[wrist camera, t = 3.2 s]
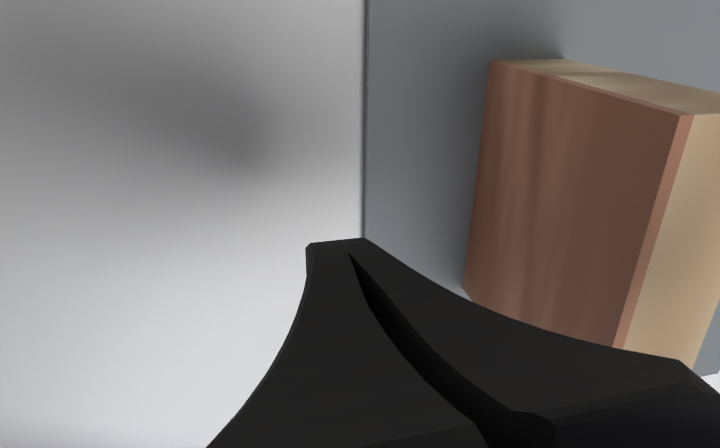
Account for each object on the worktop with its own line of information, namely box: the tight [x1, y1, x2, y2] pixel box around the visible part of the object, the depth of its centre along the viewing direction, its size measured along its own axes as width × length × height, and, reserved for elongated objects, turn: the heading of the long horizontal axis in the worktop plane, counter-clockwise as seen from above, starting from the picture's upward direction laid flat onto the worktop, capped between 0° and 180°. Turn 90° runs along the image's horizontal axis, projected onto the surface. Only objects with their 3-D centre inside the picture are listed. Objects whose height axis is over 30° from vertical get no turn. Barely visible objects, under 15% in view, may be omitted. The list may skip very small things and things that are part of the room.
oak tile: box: [463, 59, 720, 370], centre depth 14 cm, size 2×8×7 cm, turn 179°
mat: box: [363, 0, 720, 377], centre depth 18 cm, size 18×18×1 cm
